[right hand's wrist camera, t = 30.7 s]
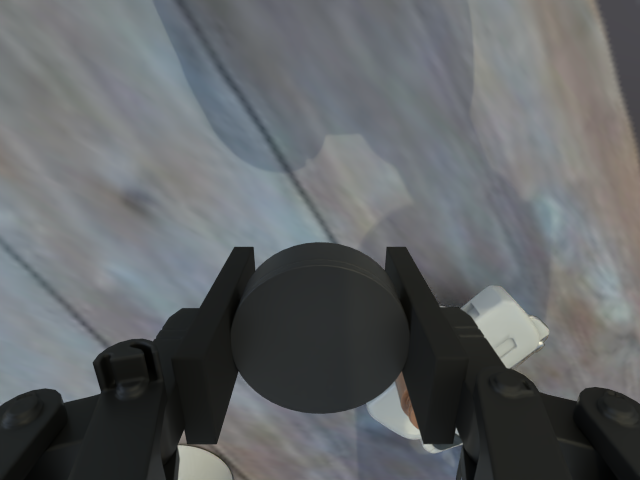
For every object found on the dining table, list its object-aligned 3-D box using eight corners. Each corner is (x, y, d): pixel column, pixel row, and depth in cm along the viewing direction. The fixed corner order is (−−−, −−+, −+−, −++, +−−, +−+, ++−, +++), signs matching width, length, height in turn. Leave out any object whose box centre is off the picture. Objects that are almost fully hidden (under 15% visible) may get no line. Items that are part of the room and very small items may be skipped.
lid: (430, 322, 12) (446, 355, 11) (311, 399, 14) (310, 439, 12) (330, 207, 11) (332, 226, 9) (207, 306, 12) (191, 337, 10)
